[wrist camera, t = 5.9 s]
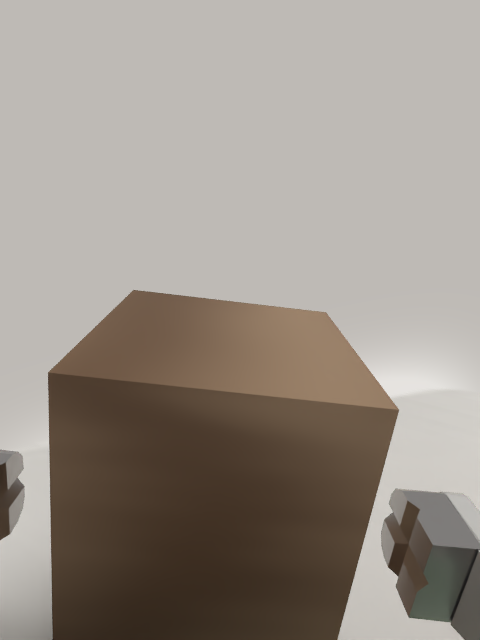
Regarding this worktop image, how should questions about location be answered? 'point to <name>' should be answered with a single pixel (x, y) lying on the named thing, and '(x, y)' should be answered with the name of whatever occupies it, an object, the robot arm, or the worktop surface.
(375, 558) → the worktop surface
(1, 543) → the worktop surface
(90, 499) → the walnut block
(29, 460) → the worktop surface
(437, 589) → the robot arm
